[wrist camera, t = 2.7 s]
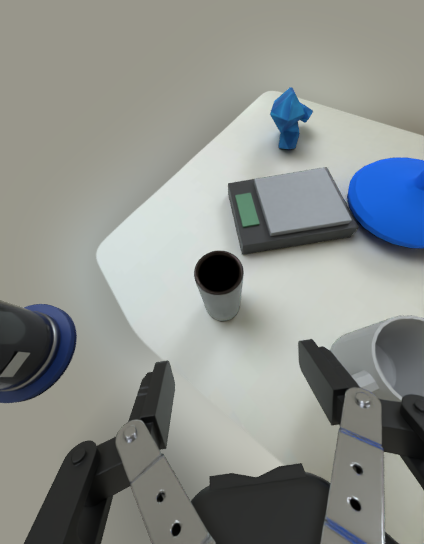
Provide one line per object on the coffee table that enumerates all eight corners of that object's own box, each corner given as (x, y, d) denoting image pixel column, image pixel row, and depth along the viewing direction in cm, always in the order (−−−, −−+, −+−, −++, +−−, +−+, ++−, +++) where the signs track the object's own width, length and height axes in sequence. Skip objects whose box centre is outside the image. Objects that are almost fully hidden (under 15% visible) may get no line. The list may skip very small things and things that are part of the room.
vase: (338, 247, 31) (366, 215, 25) (339, 170, 38) (361, 129, 31) (467, 267, 29) (535, 236, 22) (445, 180, 35) (492, 137, 28)
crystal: (317, 78, 38) (327, 99, 31) (303, 134, 45) (308, 162, 37) (273, 79, 39) (272, 99, 32) (266, 133, 46) (264, 160, 38)
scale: (242, 254, 32) (243, 242, 29) (228, 194, 37) (227, 179, 34) (350, 237, 32) (362, 223, 29) (321, 179, 37) (328, 162, 34)
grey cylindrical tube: (246, 304, 29) (254, 271, 20) (221, 328, 28) (217, 305, 19) (223, 282, 31) (219, 241, 21) (198, 303, 29) (183, 271, 20)
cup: (411, 385, 24) (504, 391, 16) (330, 426, 23) (385, 454, 15) (366, 323, 27) (425, 302, 19) (293, 357, 26) (322, 349, 18)
